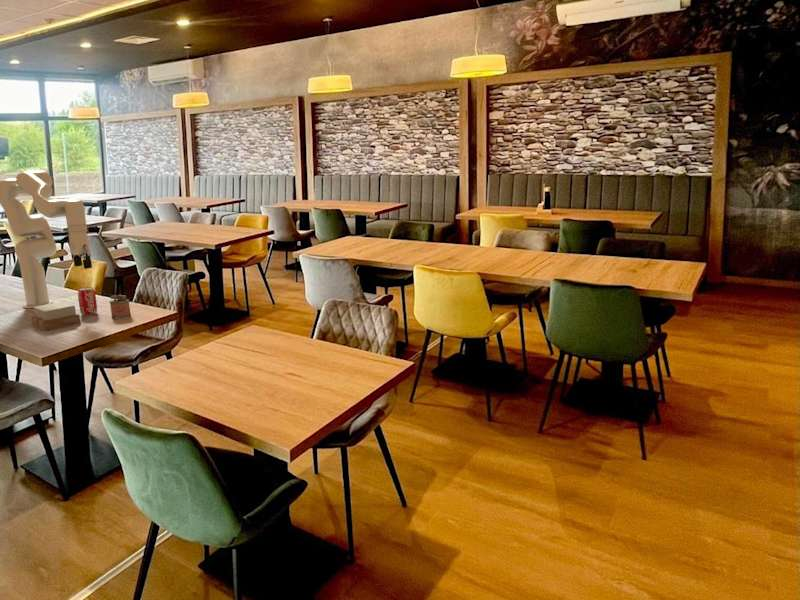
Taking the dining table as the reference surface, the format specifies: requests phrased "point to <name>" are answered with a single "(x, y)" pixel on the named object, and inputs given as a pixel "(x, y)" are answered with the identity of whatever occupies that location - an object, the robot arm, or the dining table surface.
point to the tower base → (56, 322)
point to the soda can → (87, 301)
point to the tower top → (54, 310)
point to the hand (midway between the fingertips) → (83, 267)
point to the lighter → (120, 307)
